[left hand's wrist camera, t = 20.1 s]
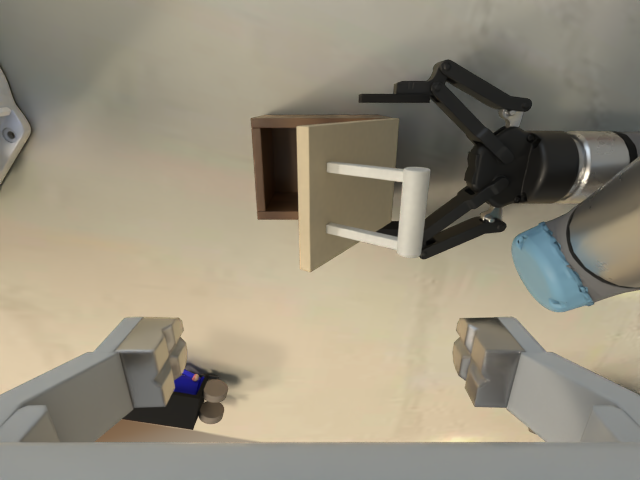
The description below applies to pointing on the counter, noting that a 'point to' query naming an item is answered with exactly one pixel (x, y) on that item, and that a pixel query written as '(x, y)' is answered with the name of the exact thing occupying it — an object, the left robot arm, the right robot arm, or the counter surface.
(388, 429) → the counter surface
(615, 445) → the left robot arm
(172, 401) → the figurine character
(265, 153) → the chest
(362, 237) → the lid
